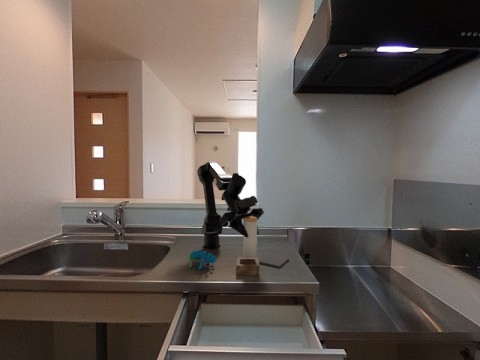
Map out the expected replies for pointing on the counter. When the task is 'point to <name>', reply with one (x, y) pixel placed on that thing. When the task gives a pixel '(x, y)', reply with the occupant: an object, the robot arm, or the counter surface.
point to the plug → (250, 237)
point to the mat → (273, 260)
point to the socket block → (247, 266)
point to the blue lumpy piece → (201, 258)
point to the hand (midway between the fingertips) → (252, 235)
